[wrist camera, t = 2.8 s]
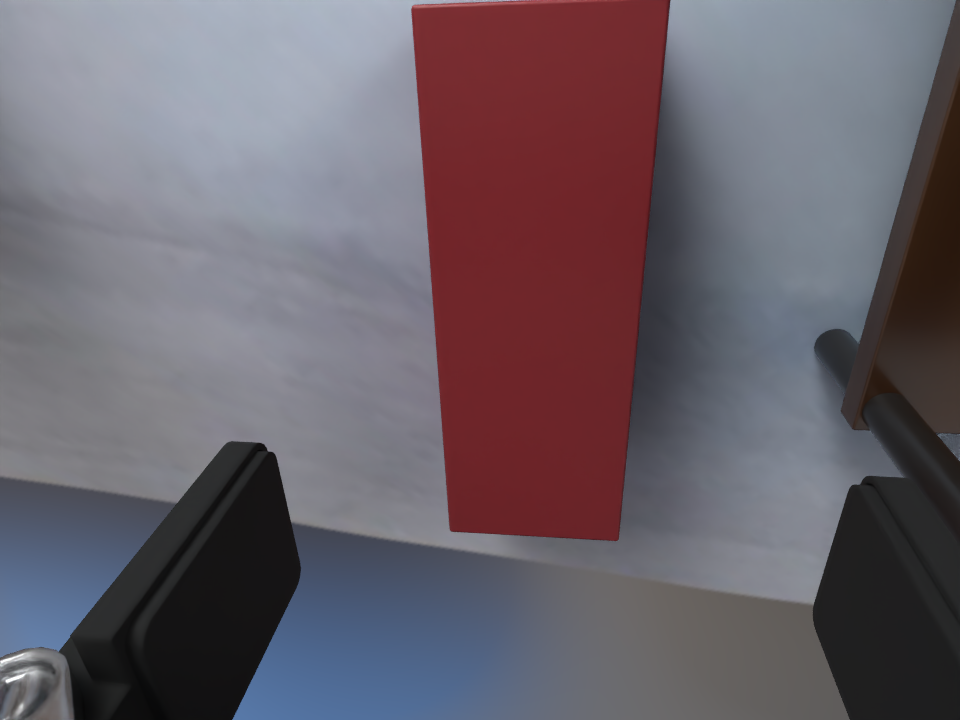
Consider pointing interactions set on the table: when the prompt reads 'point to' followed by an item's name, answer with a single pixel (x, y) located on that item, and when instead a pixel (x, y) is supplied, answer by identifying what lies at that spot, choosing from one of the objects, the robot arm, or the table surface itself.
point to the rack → (915, 312)
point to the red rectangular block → (538, 249)
